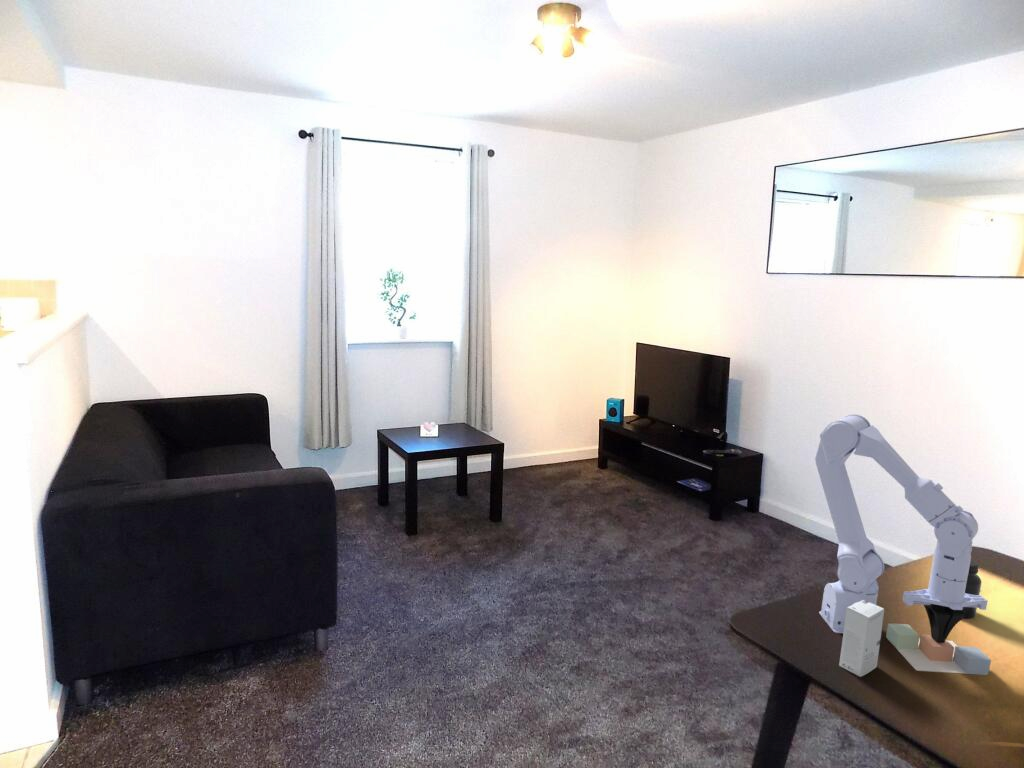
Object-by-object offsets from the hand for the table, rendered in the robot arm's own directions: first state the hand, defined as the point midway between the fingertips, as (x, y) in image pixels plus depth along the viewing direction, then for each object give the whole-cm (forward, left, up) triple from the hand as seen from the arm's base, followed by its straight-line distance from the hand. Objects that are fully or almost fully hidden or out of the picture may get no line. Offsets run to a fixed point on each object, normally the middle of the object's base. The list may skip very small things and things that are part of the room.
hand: (937, 639), depth 126 cm
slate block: (+4, -3, -3) cm, 7 cm away
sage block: (-5, +4, -3) cm, 7 cm away
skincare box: (-17, -5, -4) cm, 18 cm away
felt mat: (0, 0, -4) cm, 4 cm away
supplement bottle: (+15, +18, -4) cm, 24 cm away
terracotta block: (0, 0, -3) cm, 3 cm away
